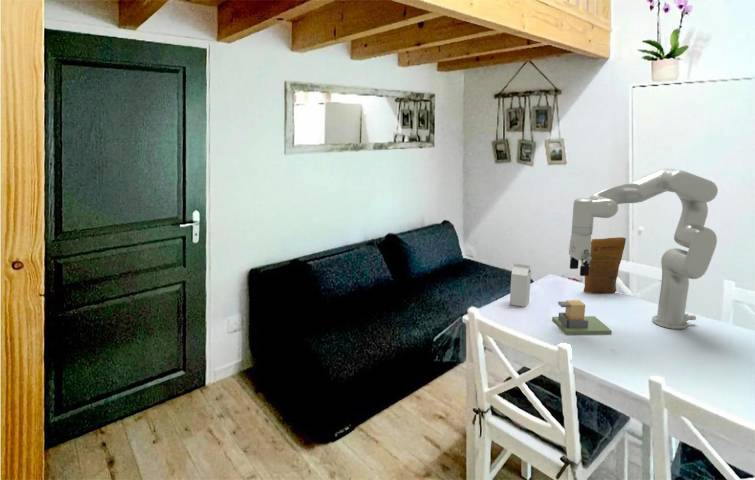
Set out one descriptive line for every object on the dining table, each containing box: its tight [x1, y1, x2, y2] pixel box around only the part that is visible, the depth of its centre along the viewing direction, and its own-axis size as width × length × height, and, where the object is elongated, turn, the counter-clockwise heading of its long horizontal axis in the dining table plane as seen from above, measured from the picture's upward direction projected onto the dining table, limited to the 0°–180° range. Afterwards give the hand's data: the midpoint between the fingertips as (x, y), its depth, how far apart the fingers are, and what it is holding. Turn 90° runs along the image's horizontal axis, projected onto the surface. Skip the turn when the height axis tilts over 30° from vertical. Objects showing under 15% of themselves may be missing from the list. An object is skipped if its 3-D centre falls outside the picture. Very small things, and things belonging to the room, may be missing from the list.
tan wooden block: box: [557, 299, 586, 320], centre depth 195 cm, size 9×6×9 cm, turn 90°
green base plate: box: [551, 312, 613, 336], centre depth 195 cm, size 18×15×4 cm
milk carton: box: [509, 263, 532, 308], centre depth 221 cm, size 7×7×19 cm
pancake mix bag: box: [583, 237, 627, 294], centre depth 234 cm, size 7×19×28 cm, turn 90°
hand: (578, 272), depth 191 cm, fingers open, 9 cm apart
